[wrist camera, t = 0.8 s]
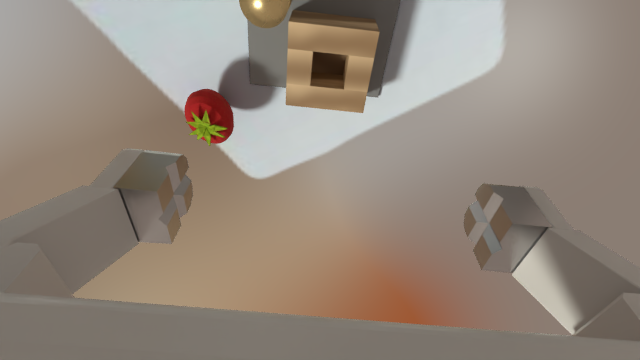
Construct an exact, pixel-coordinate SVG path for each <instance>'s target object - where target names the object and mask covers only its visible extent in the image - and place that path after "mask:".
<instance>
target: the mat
mask: <svg viewBox="0 0 640 360" xmlns="http://www.w3.org/2000/svg"><path fill="white" fill-rule="evenodd" d="M399 4H400V0H292V2H291V5H290V7H289V9H288V12H287V14H286V16H285V18H284V20H283V21H282V22H281V23H280V24H279V25H277V26H275V27H272V28H261V27H258V26H255V25H254V24H252V23H251V22H250V21H249V20H248V42H249V66H250V84H256V85H265V86H275V87H284V88H286V83H287V53H288V23H289V19H290V16H291V14H292V11H293V10H298V11H307V12H315V13H324V14H332V15H341V16H350V17H358V18H367V19H375V20H376V23H377V26H378V29H379V37H378V42H377V47H376V52H375V57H374V62H373V66H372V71H371V76H370V81H369V86H368V91H367V96H369V97H378V95H379V91H380V86H381V82H382V78H383V74H384V69H385V65H386V61H387V56H388V52H389V48H390V43H391V39H392V35H393V30H394V26H395V22H396V17H397V13H398V9H399Z"/></svg>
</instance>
